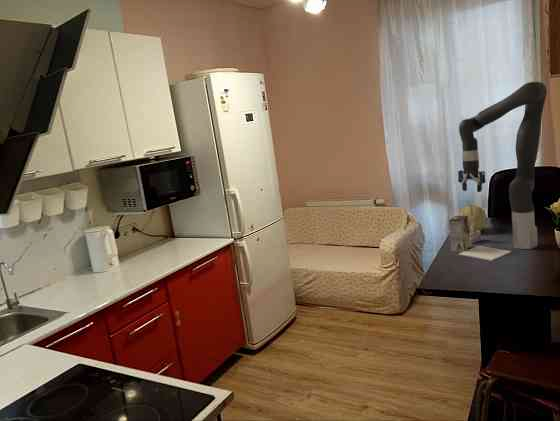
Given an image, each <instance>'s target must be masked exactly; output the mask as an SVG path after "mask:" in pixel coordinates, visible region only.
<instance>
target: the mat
mask: <svg viewBox="0 0 560 421" xmlns="http://www.w3.org/2000/svg"><path fill="white" fill-rule="evenodd" d="M510 253H512V250H506V249H501V248H494V247H487V246H481V245H478V246H474V247H472V248H470V249H469V248H468V249H467V250H466V251H464V252H459V253H458V255H459V256H464V257H465V256H466V257H469V258H476V259H480V260H486V261H494V260H497V259H499V258H502V257H504V256H506V255H508V254H510Z"/></svg>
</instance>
